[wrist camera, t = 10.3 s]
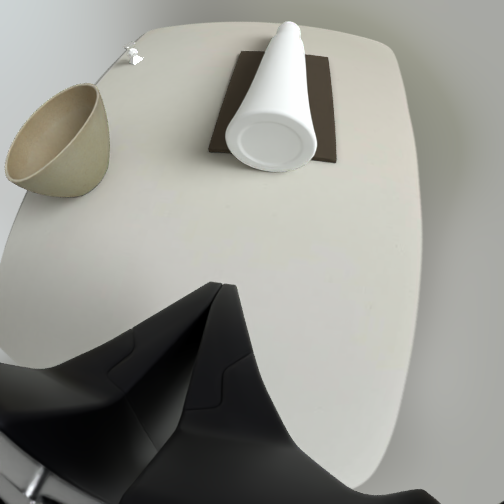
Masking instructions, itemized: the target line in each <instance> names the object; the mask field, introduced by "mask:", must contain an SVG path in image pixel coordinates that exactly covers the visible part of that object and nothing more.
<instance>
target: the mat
mask: <svg viewBox="0 0 504 504" xmlns="http://www.w3.org/2000/svg"><path fill="white" fill-rule="evenodd" d="M264 54H265V52H262V51H241V53H240V56H239V58H238V61H237V64H236V66H235V69H234V72H233V75H232V78H231V80H230V83H229V86H228V89H227V92H226V95H225V98H224V101H223V104H222V107H221V110H220V113H219V116H218V119H217V122H216V125H215V129H214V132H213V135H212V138H211V142H210V145H209V149H208V150H209V152H224V153H231V151H230V150H229V148H228V146H227V143H226V139H225V134H226V129H227V127H228V125H229V123H230V122H231V120H232V119H233V117H234V116H235V114H236V112H237V111H238V109H239V107H240V106H241V104H242V102H243V100H244V98H245V96H246V95H247V93H248V90H249V88H250V86H251V84H252V82H253V80H254V78H255V75H256V73H257V70H258V68H259V66H260V63H261V61H262V58H263V56H264ZM305 64H306V79H307V91H308V100H309V107H310V114H311V119H312V123H313V128H314V132H315V136H316V140H317V148H316V152H315V154H314V156H313V158H312V159H311V160H318V161H326V162H333V163H336V137H335V121H334V108H333V97H332V86H331V77H330V69H329V61H328V57H322V56H315V55H306V54H305Z"/></svg>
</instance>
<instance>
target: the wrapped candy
mask: <svg viewBox="0 0 504 504" xmlns="http://www.w3.org/2000/svg"><path fill="white" fill-rule="evenodd" d="M135 45H136V42H130V43H128V44H127V45H125V46H123V48H125V49H126V50H128V52H127V54H128V56H129V57H130V58H131V59H130V62H129V63H131V64H136V63H137V62H139V61H140V60H142V58H141V57H139V56H137V54H138V50H137V49H136V48H135Z"/></svg>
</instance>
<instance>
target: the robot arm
mask: <svg viewBox="0 0 504 504" xmlns="http://www.w3.org/2000/svg"><path fill="white" fill-rule="evenodd" d="M0 504H440V503H439V502H438V501H437V500H436V499H435V498H434V497H432V496H431V495H430V494H428V493H427V492H426V491H425V490H422V489H415V490H409V491H403V492H399V493H393V494H387V495H368V494H363V493H360V492H357V491H354V490H352V489H351V488H349V487H347V486H346V485H344V484H343V483H342V482H340V481H339V480H338V479H336V478H335V477H334V476H332V475H331V474H330V473H329V472H327V471H326V470H325V469H323V468H322V467H321V466H320V465H319V464H317V463H316V462H315V461H314V460H312V459H311V458H310V457H309V456H308V455H306V454H305V453H304V452H303V451H302V450H301V449H300V448H299V447H298V446H297V445H296V444H295V442H294V441H293V440H292V438H291V436H290V435H289V433H288V431H287V430H286V428H285V426H284V424H283V422H282V420H281V418H280V416H279V414H278V412H277V410H276V408H275V406H274V404H273V402H272V400H271V398H270V396H269V394H268V392H267V390H266V387H265V385H264V383H263V380H262V378H261V375H260V372H259V369H258V366H257V363H256V359H255V356H254V354H253V349H252V345H251V341H250V337H249V334H248V330H247V326H246V322H245V318H244V314H243V311H242V307H241V303H240V299H239V295H238V291H237V287H236V285H231V284H223V285H222V283H216V282H209V283H207V284H205V285H204V286H202V287H200V288H198V289H197V290H195V291H193V292H192V293H190V294H188V295H187V296H185V297H183V298H182V299H180V300H178V301H177V302H175V303H173V304H172V305H170V306H168V307H167V308H165V309H163V310H162V311H160V312H158V313H157V314H155V315H153V316H151V317H150V318H148V319H146V320H145V321H143V322H141V323H140V324H138V325H136V326H135V327H133V328H132V329H129V330H128V331H126V332H124V333H123V334H121V335H119V336H117V337H115V338H114V339H112V340H110V341H108V342H106V343H104V344H102V345H100V346H98V347H96V348H94V349H92V350H90V351H88V352H86V353H84V354H81V355H79V356H77V357H75V358H73V359H70V360H68V361H66V362H64V363H62V364H59V365H57V366H54V367H51V368H45V369H33V368H26V367H20V366H15V365H9V364H4V363H0ZM499 504H504V501H503V502H501V503H499Z"/></svg>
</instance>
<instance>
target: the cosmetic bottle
mask: <svg viewBox="0 0 504 504" xmlns="http://www.w3.org/2000/svg"><path fill="white" fill-rule="evenodd" d="M300 35H301V31H300V28H299V27H298V26H297V25H296V24H295V23H293V22H290V21H288V22H284V23H283V24H281V25H280V26H279V27H278V30H277V33H276V35H275V36H274V37H273V38H272V39H271V41H270V43H269V45H268V47H267V49H266V51H265V54H264V56H263V58H262V61H261V63H260V66H259V68H258V70H257V73H256V75H255V78H254V80H253V82H252V84H251V86H250V88H249V90H248V93H247V95H246V96H245V98H244V100H243V102H242V104H241V106H240V107H239V109H238V111H237V112H236V114H235V116H234V117H233V119H232V120H231V122H230V123H229V125H228V127H227V129H226V134H225V139H226V143H227V146H228V148H229V150H230V151H231V153H232V154H233V155H234V156H235V157H236V158H237V159H238V160H240V161H241V162H243V163H245V164H246V165H248V166H251V167H253V168H256V169H259V170H263V171H270V172H284V171H291V170H294V169H297V168H300V167H302V166H304V165H305V164H307V163H308V162H309V161H310V160H311V159H312V158H313V156H314V154H315V152H316V148H317V140H316V136H315V132H314V128H313V123H312V119H311V114H310V107H309V100H308V91H307V79H306V64H305V52H304V45H303V42H302V40H301V39H300Z"/></svg>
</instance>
